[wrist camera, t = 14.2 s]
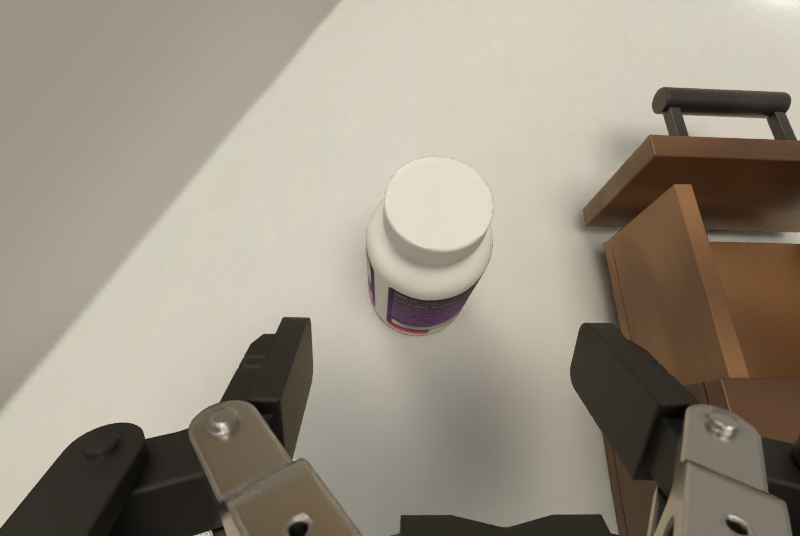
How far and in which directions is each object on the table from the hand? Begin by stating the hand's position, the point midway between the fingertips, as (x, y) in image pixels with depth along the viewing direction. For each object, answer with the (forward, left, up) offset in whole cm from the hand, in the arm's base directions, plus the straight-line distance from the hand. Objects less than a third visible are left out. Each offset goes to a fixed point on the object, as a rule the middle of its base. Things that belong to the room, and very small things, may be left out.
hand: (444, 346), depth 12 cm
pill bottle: (-3, -4, -10) cm, 12 cm away
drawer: (-18, +4, -9) cm, 20 cm away
